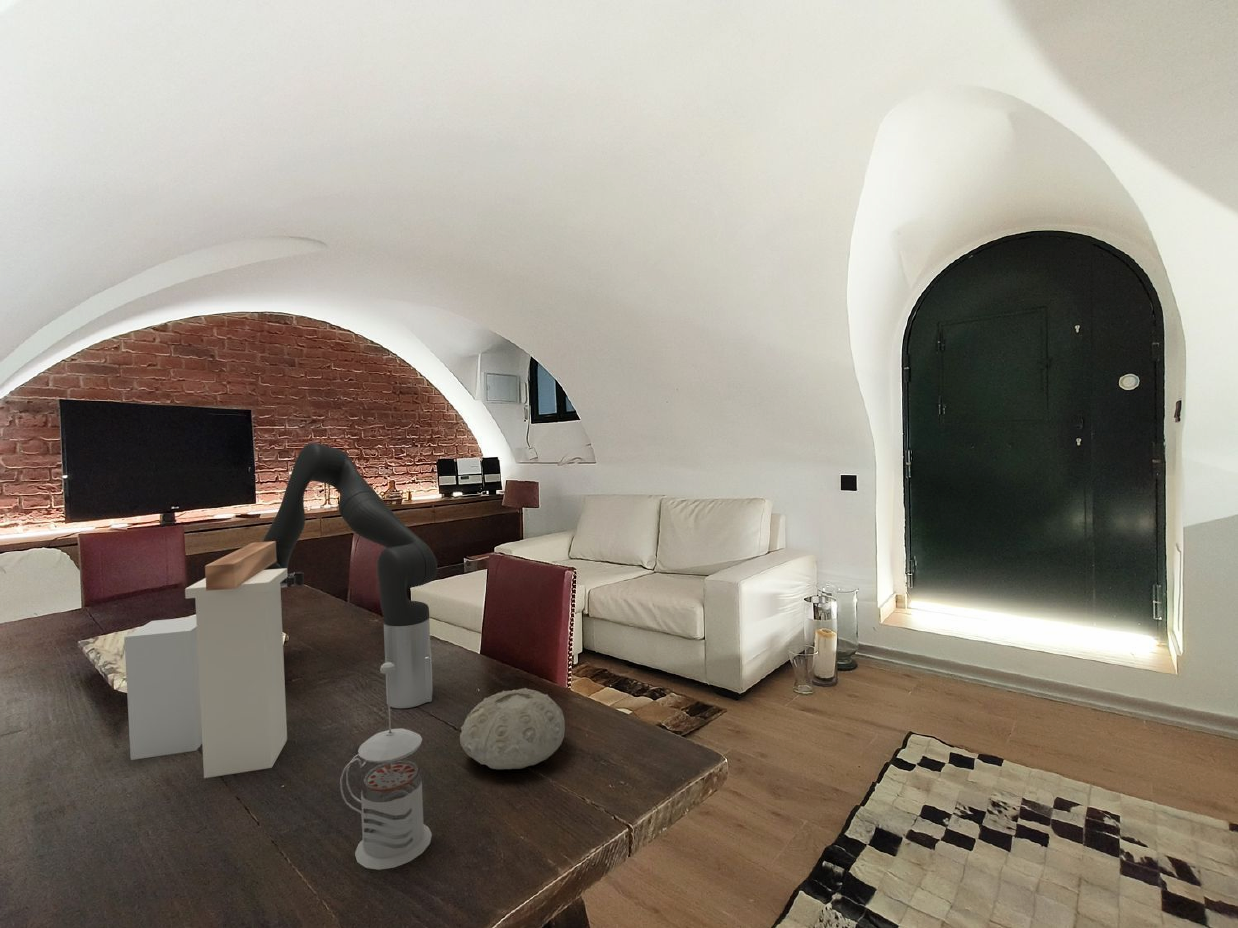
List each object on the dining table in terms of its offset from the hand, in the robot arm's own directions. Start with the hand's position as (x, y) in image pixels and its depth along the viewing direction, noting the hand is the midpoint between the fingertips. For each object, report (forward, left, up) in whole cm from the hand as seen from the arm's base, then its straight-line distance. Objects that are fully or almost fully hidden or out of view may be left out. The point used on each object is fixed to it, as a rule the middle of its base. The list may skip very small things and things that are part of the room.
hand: (266, 583), depth 121 cm
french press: (-27, +51, -27) cm, 64 cm away
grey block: (+14, +8, -27) cm, 31 cm away
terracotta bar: (-1, +16, +5) cm, 17 cm away
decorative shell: (-46, +33, -27) cm, 63 cm away
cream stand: (-1, +19, -27) cm, 33 cm away
